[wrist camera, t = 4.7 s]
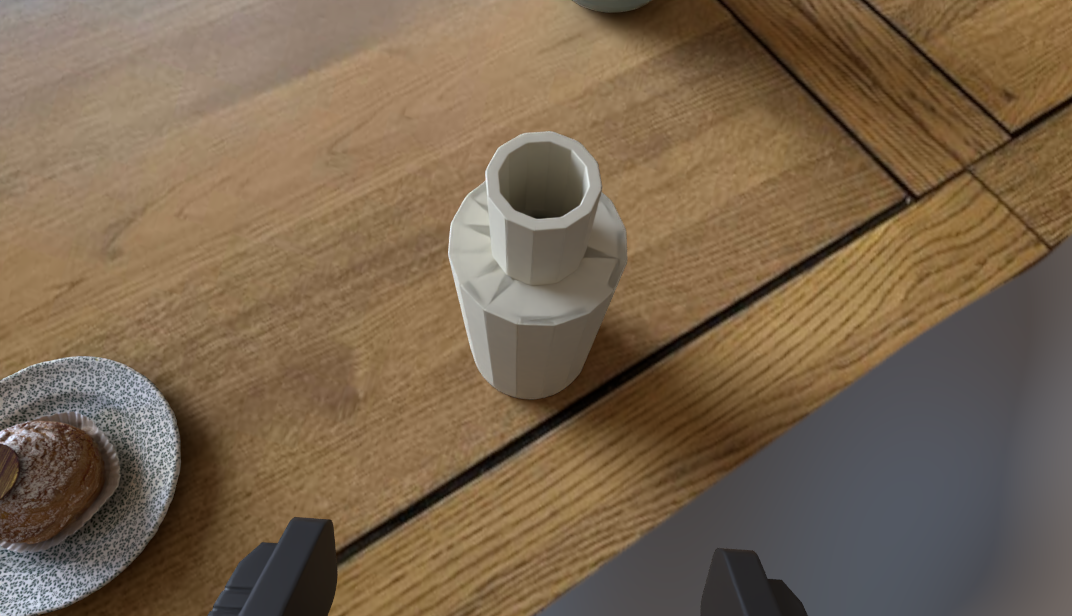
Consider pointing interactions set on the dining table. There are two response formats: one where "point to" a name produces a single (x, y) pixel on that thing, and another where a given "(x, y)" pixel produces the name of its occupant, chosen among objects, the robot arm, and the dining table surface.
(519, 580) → the dining table surface
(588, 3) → the cup
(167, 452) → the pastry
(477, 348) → the white faceted vase
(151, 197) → the dining table surface
